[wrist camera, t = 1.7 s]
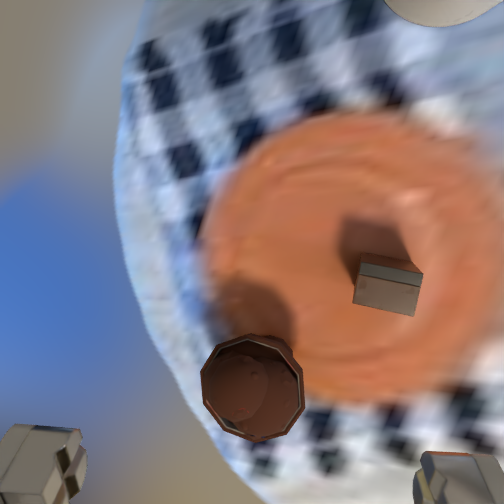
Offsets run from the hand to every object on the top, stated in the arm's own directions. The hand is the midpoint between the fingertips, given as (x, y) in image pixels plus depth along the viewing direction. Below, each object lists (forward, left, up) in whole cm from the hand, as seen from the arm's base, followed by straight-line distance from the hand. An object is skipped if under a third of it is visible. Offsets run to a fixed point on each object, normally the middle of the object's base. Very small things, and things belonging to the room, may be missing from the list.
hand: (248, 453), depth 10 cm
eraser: (-1, +5, -40) cm, 40 cm away
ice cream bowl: (+14, -2, -40) cm, 42 cm away
